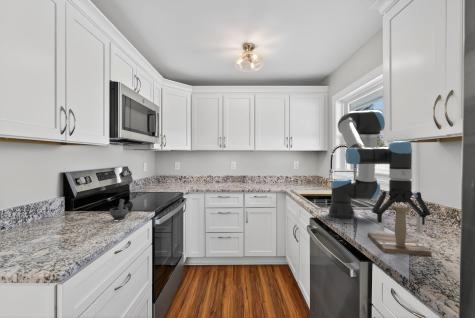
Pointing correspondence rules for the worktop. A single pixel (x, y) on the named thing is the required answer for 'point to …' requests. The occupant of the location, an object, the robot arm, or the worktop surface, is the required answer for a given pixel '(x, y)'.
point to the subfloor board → (390, 245)
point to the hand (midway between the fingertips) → (400, 231)
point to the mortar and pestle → (119, 211)
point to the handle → (400, 223)
